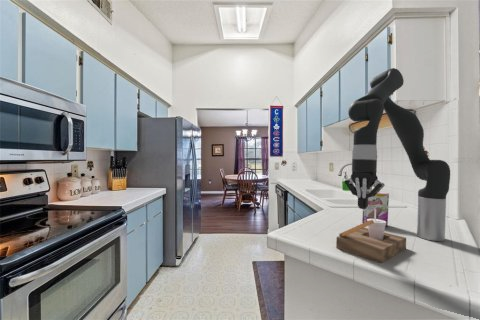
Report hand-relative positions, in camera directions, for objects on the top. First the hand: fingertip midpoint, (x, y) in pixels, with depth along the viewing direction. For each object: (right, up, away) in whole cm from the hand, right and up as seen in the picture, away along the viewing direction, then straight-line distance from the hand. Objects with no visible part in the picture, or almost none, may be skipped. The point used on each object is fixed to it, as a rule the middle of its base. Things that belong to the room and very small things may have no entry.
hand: (362, 208), depth 80 cm
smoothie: (+9, -16, +7) cm, 20 cm away
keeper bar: (-1, -8, +1) cm, 8 cm away
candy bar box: (+26, -16, +38) cm, 49 cm away
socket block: (+6, -16, +5) cm, 18 cm away
